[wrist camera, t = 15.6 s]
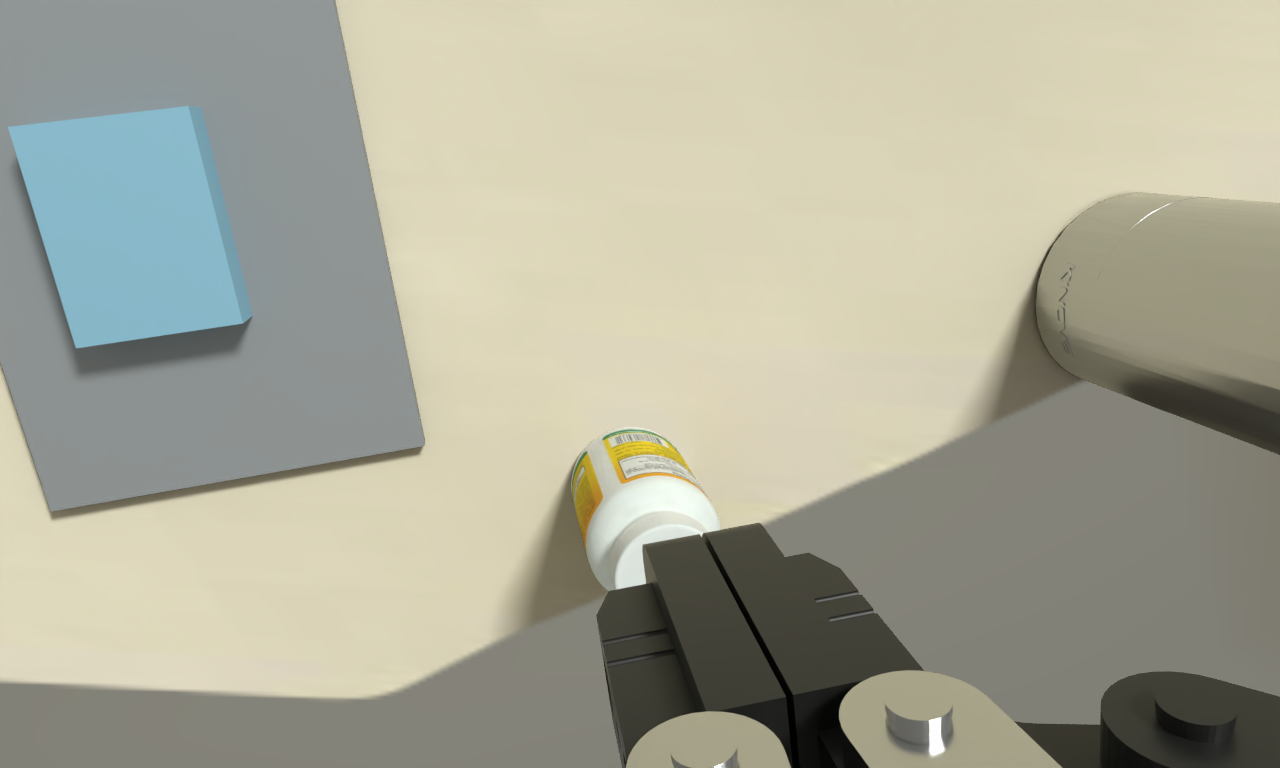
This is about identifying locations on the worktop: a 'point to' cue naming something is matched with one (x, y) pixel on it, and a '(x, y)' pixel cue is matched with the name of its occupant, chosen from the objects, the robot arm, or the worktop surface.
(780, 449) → the worktop surface
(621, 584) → the supplement bottle
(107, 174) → the block
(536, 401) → the worktop surface
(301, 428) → the mat
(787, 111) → the worktop surface
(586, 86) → the worktop surface
